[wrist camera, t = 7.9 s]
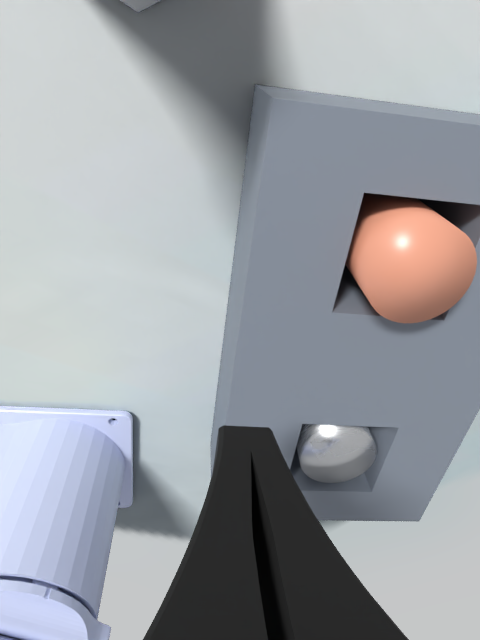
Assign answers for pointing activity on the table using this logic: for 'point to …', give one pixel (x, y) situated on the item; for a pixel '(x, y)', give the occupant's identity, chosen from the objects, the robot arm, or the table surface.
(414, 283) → the terracotta plug
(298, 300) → the plug panel
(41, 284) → the table surface
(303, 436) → the steel plug
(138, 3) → the flask
